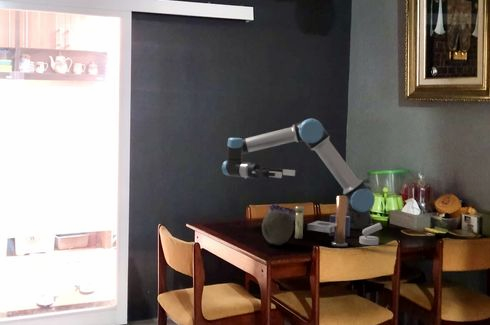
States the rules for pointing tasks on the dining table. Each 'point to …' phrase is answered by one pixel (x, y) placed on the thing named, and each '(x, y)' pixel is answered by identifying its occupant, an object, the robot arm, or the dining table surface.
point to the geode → (284, 209)
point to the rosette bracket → (334, 227)
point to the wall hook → (370, 239)
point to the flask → (347, 225)
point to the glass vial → (299, 222)
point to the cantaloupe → (277, 227)
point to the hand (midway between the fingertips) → (288, 174)
